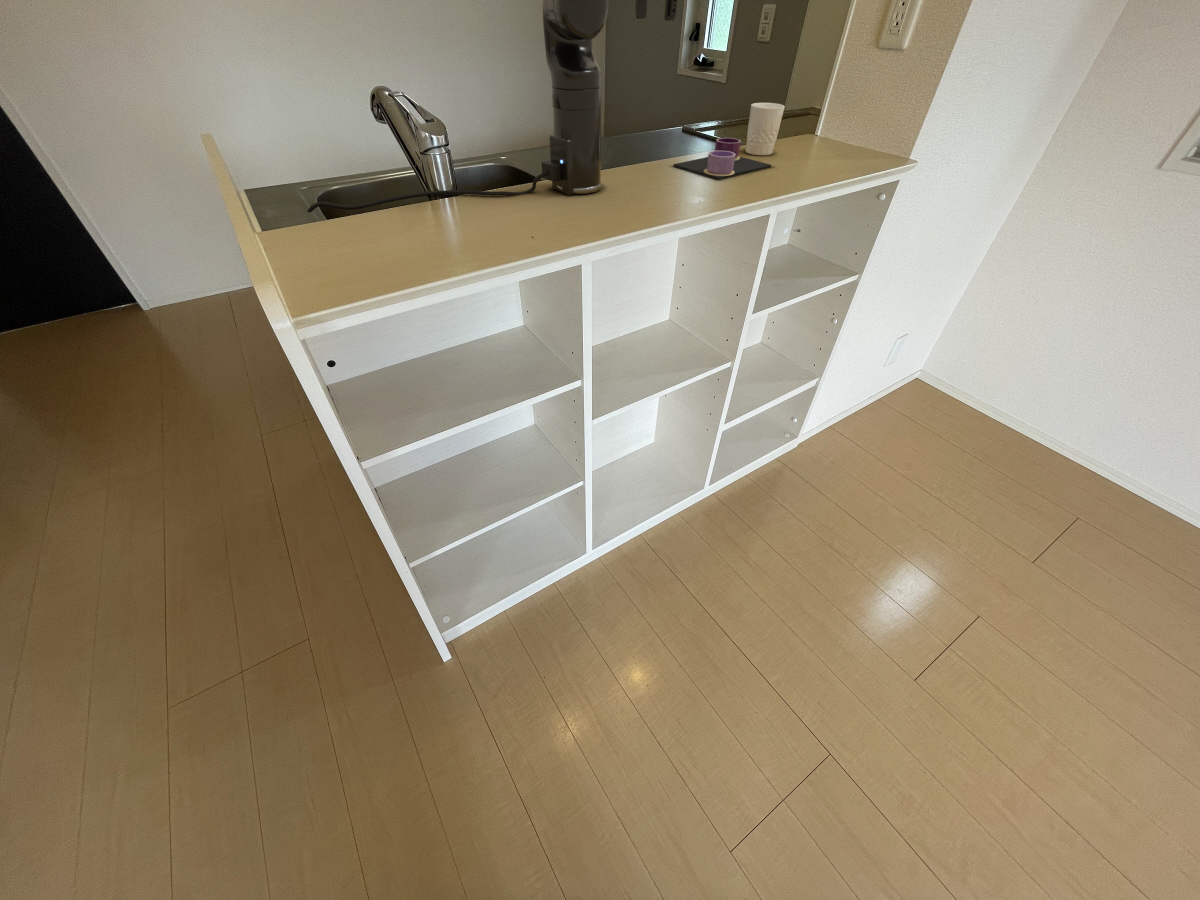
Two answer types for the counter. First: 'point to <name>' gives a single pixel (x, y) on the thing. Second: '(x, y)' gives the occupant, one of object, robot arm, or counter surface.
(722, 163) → the lilac dish
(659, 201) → the counter surface
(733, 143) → the plum dish
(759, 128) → the white cup
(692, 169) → the mat
